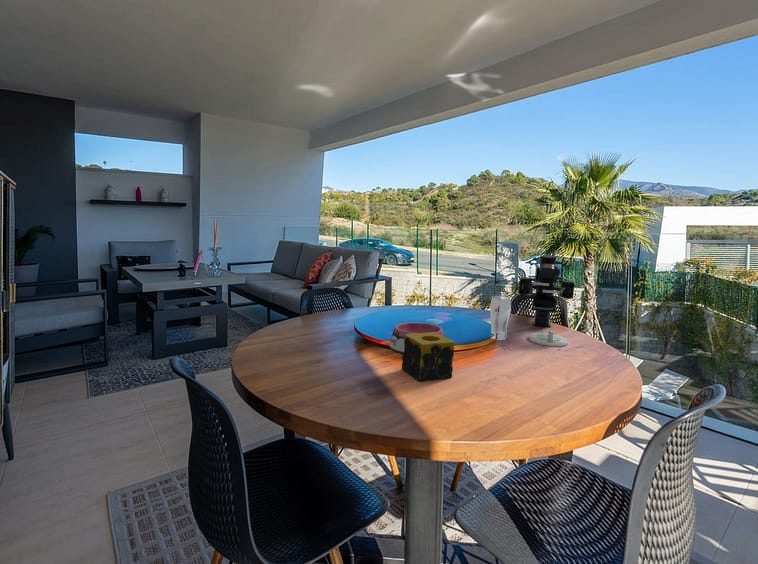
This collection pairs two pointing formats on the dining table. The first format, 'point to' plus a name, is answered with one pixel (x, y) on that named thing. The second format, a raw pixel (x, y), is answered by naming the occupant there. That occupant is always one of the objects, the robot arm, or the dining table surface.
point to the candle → (428, 356)
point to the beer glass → (500, 316)
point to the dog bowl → (410, 328)
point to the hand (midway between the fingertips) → (545, 293)
